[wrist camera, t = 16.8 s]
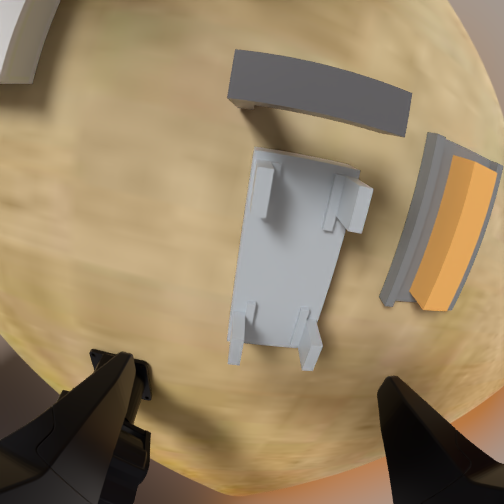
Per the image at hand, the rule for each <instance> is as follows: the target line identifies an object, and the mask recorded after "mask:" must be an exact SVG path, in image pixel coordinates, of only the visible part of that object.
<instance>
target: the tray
mask: <svg viewBox="0 0 504 504" xmlns="http://www.w3.org/2000/svg"><path fill="white" fill-rule="evenodd" d="M453 155H455V156H459V157H462V158H465V159H469V160H472V161H475V162H477V163H479V164H481V165H483V166H485V167H487V168H489V169H491V170H493V171H495V172H496V173H497V177H496V181H495V185H494V189H493V193H492V197H491V200H490V204H489V207H488V211H487V214H486V217H485V220H484V223H483V226H482V229H481V232H480V235H479V238H478V241H477V243H476V246H475V249H474V251H473V254H472V256H471V259H470V261H469V264H468V266H467V269H466V271H465V273H464V276H463V278H462V280H461V283H460V285H459V287H458V289H457V291H456V293H455V296H454V298H453V300H452V302H451V304H450V306H449V308H448V310H452V309H453V307H454V305H455V303H456V301H457V299H458V297H459V295H460V293H461V290H462V288H463V286H464V284H465V282H466V279H467V277H468V275H469V272H470V270H471V268H472V265H473V263H474V260H475V258H476V255H477V253H478V250H479V247H480V245H481V242H482V239H483V236H484V234H485V231H486V228H487V225H488V222H489V219H490V215H491V212H492V209H493V205H494V202H495V198H496V195H497V191H498V187H499V183H500V179H501V174H502V170H503V166H502V165H500V164H498V163H496V162H493V161H490V160H488V159H486V158H484V157H482V156H480V155H479V154H477V153H475V152H473V151H471V150H468V149H466V148H464V147H462V146H460V145H458V144H456V143H454V142H451V141H449V140H447V139H446V137H444V136H442V135H439V134H436V133H430V132H428V133H427V139H426V144H425V149H424V153H423V158H422V162H421V167H420V171H419V175H418V179H417V183H416V187H415V191H414V195H413V198H412V202H411V205H410V209H409V212H408V216H407V219H406V222H405V226H404V229H403V232H402V235H401V238H400V241H399V244H398V247H397V250H396V253H395V256H394V259H393V262H392V264H391V267H390V270H389V273H388V275H387V278H386V280H385V283H384V286H383V288H382V291H381V293H380V296H379V297H380V299H381V301H382V302H383V304H384V306H390V307H393V305H394V303H395V301H406V302H417V301H416V300H415V298H414V297H413V296H412V294H411V293H410V292H409V290H410V288H411V286H412V283H413V281H414V278H415V276H416V273H417V271H418V268H419V266H420V263H421V261H422V258H423V255H424V253H425V250H426V247H427V244H428V242H429V239H430V236H431V233H432V230H433V227H434V224H435V221H436V218H437V214H438V211H439V208H440V204H441V201H442V197H443V194H444V190H445V186H446V183H447V179H448V175H449V171H450V166H451V162H452V157H453Z"/></svg>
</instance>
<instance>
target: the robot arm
mask: <svg viewBox="0 0 504 504" xmlns="http://www.w3.org/2000/svg"><path fill="white" fill-rule="evenodd" d="M90 357H91V361H92V364H93V367H94V372H93V374H92V375H90V376H89V377H88V378H86V379H85V380H84V381H83V382H81V383H80V384H79V385H78V386H76V387H75V388H73V389H72V390H71V391H65V390H63V391H62V392H61V394H60V396H59V398H58V400H57V402H56V403H55V404H54V405H53V406H52V407H50V408H48V409H47V410H46V411H45V412H43V413H42V414H41V415H39V416H38V417H36V418H35V419H34V420H32V421H31V422H29V423H28V424H26V425H25V426H23V427H21V428H20V429H18V430H16V431H15V432H13V433H11V434H10V435H8V436H6V437H4V438H3V439H1V440H0V504H133V503H134V500H135V495H136V491H137V487H138V485H139V484H140V483H141V482H142V481H143V480H144V478H145V476H146V474H147V471H148V468H149V462H150V437H151V433H150V432H148V431H146V430H143V429H141V428H139V427H137V426H135V425H133V424H134V421H135V418H136V414H137V411H138V408H139V405H140V402H141V399H144V400H151V398H152V393H151V387H150V380H149V373H148V366H147V363H146V362H144V361H140V360H136V359H134V358H133V355H132V354H131V353H127V352H120V353H118V354H117V355H114V354H110V353H106V352H103V351H99V350H95V349H91V351H90ZM377 398H378V407H379V417H380V426H381V433H382V438H383V443H384V448H385V454H386V459H387V465H388V471H389V477H390V483H391V490H392V496H393V503H394V504H504V464H502V463H499V462H497V461H495V460H494V459H493V458H491V457H490V456H488V455H487V454H486V453H484V452H483V451H482V450H480V449H479V448H478V447H476V446H475V445H474V444H473V443H471V442H470V441H469V440H468V439H466V438H465V437H464V436H463V435H462V434H460V432H458V430H456V429H455V428H454V427H453V426H452V425H451V424H450V423H449V422H448V421H447V420H445V419H444V418H443V417H442V416H441V415H440V414H439V413H438V412H437V411H436V410H434V409H433V408H432V407H431V406H430V405H429V404H428V403H427V402H426V401H424V400H423V399H422V398H421V397H420V396H419V395H418V394H417V393H416V392H415V391H413V390H412V389H411V388H410V387H409V386H408V385H407V384H406V383H405V382H403V381H402V380H401V379H400V378H399V377H398V376H388V377H387V378H386V379H385V380H384V382H383V383H382V385H381V386H380V388H379V390H378V393H377Z"/></svg>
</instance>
